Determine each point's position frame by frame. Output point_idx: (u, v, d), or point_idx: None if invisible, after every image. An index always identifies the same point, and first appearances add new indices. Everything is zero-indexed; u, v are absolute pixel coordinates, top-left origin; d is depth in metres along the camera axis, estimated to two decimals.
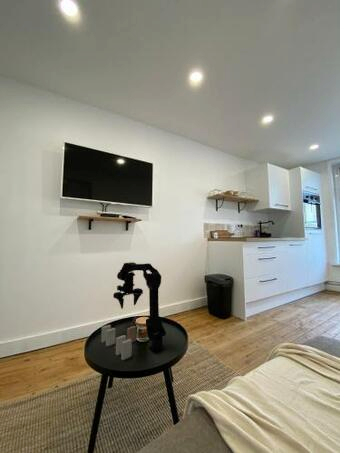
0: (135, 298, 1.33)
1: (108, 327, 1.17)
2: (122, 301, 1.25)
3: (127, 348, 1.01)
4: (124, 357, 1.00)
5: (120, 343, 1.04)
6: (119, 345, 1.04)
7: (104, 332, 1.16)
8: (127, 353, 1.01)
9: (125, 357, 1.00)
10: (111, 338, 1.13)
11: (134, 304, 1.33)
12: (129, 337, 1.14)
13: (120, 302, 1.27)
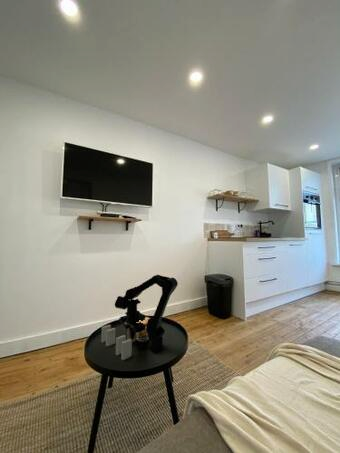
0: None
1: (108, 327, 1.17)
2: (126, 329, 1.16)
3: (127, 348, 1.01)
4: (124, 357, 1.00)
5: (120, 343, 1.04)
6: (119, 345, 1.04)
7: (104, 332, 1.16)
8: (127, 353, 1.01)
9: (125, 356, 1.00)
10: (111, 338, 1.13)
11: None
12: (129, 337, 1.14)
13: None
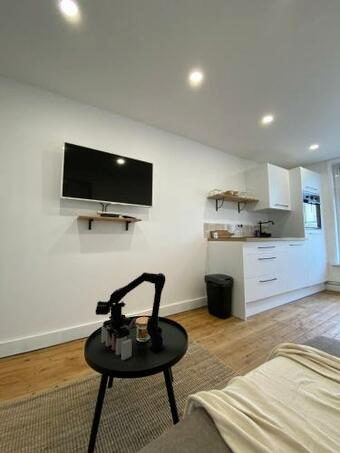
0: None
1: None
2: (108, 333, 1.10)
3: (127, 348, 1.01)
4: (124, 357, 1.00)
5: (120, 344, 1.04)
6: (119, 345, 1.04)
7: (104, 332, 1.16)
8: (127, 353, 1.01)
9: (125, 356, 1.00)
10: None
11: None
12: (114, 343, 1.08)
13: (113, 334, 1.12)
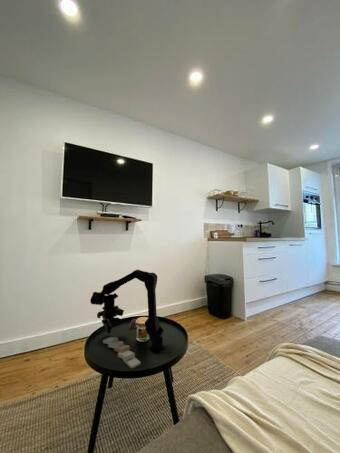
0: None
1: (114, 341, 1.12)
2: (103, 324, 1.15)
3: None
4: None
5: None
6: None
7: None
8: None
9: None
10: None
11: (108, 332, 1.15)
12: None
13: None
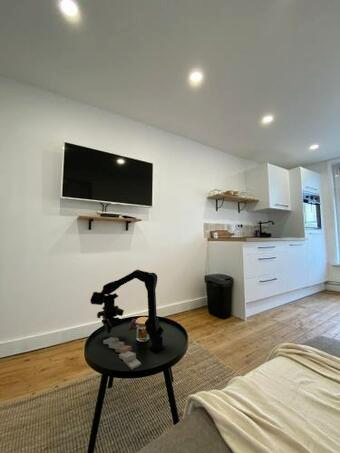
0: None
1: None
2: (103, 324, 1.15)
3: None
4: None
5: None
6: None
7: None
8: None
9: None
10: None
11: None
12: None
13: None
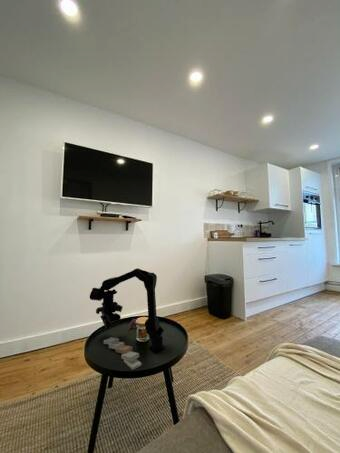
0: None
1: (115, 342, 1.11)
2: (102, 320, 1.16)
3: None
4: None
5: None
6: None
7: None
8: None
9: None
10: None
11: None
12: None
13: None
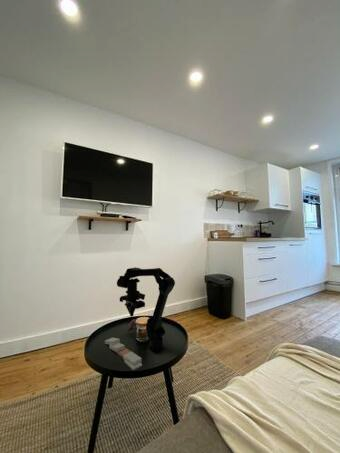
0: None
1: (116, 342, 1.11)
2: (127, 307, 1.20)
3: None
4: None
5: None
6: None
7: None
8: None
9: None
10: None
11: None
12: None
13: None
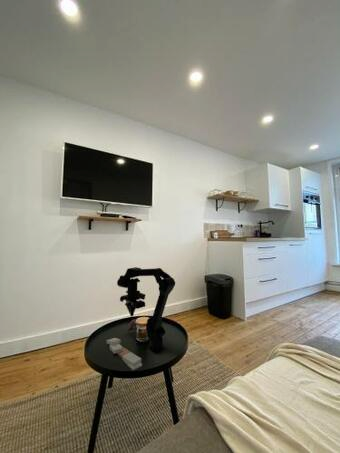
0: None
1: None
2: (127, 307, 1.20)
3: None
4: None
5: None
6: None
7: None
8: None
9: None
10: None
11: (131, 315, 1.20)
12: None
13: None
